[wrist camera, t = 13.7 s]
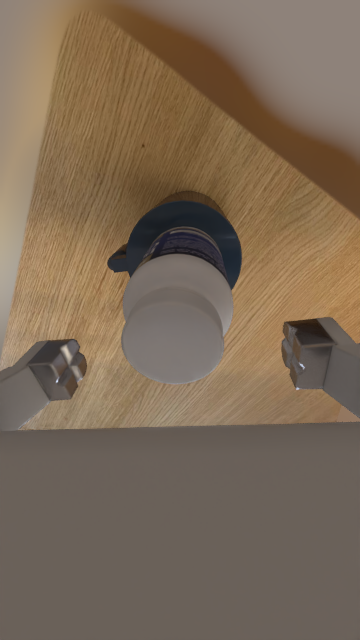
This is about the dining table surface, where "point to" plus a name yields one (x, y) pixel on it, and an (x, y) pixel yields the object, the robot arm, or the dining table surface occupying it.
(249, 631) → the robot arm
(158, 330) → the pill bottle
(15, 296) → the dining table surface
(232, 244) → the mug
